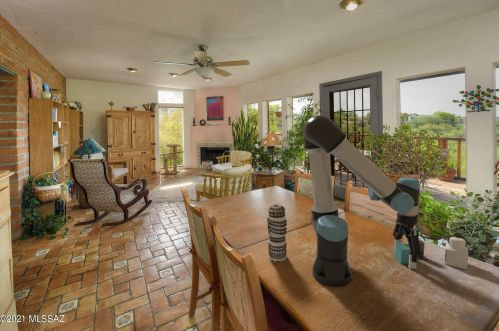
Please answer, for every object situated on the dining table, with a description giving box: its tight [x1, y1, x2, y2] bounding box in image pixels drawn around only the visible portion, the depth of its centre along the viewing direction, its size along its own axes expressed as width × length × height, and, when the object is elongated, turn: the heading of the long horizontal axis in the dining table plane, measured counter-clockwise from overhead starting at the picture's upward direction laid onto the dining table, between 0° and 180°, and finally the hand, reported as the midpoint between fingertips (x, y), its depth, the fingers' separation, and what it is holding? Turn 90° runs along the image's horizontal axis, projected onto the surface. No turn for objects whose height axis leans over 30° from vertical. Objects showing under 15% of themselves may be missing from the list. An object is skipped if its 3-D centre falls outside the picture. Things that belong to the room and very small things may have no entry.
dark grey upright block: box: [417, 239, 429, 261], centre depth 110 cm, size 5×5×7 cm
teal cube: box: [394, 243, 411, 265], centre depth 107 cm, size 6×6×7 cm
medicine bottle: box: [444, 234, 469, 270], centre depth 103 cm, size 7×7×12 cm
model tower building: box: [266, 203, 288, 262], centre depth 113 cm, size 9×9×25 cm
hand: (404, 260), depth 108 cm, fingers open, 12 cm apart
